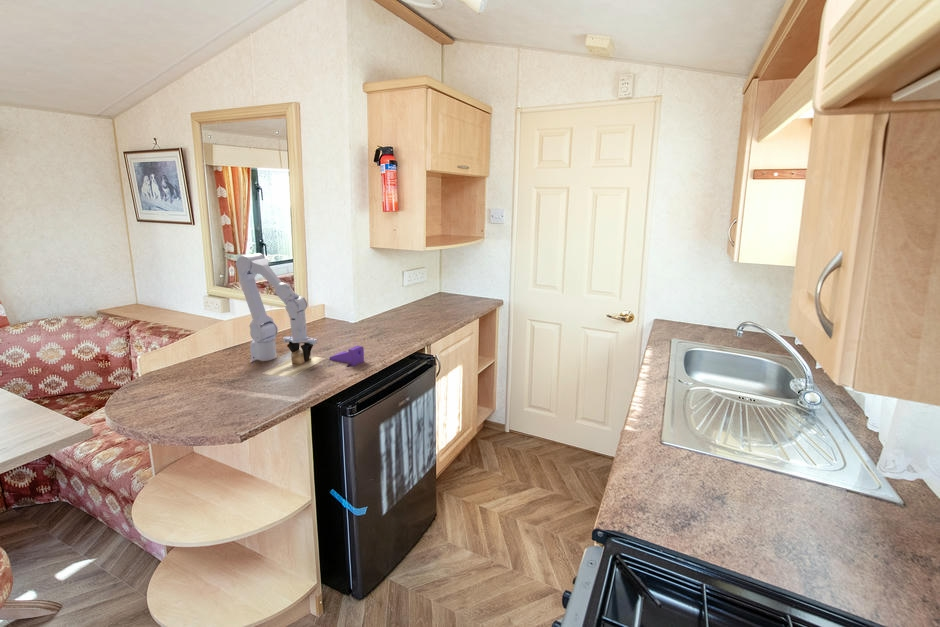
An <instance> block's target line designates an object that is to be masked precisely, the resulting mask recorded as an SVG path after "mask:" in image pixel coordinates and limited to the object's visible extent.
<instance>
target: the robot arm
mask: <svg viewBox="0 0 940 627" xmlns="http://www.w3.org/2000/svg"><path fill="white" fill-rule="evenodd" d="M234 264H235V267H236V270H237V277H238V280H239V282H240V286H241V289H242V292H243V295H244V297H245V298H244V299H245V300H246V304H247V307H248V309H249V312H250V315H251V318H252V320H251V322H250V323H249V326H248V327H249V329H250V334H249V335H250V337H251V339H252V341H251V342H250V344H249V350H250V357H251V360H249V361H250V363H252V362H255V361H261V362H263V361H264V362H265V361H267V362H268V361H273V360H275V359H277V348H276V337H277V334H278V333H279V332H278V331H279V329H278V326H277V324H276V322H274V320H273V318H272V316H269V315H267V313H266V308H265V306H264V303H263V300H262V297H261V294H260V291H259V288H258V285H257V283H256V280H255V279H256V276H257V275H261V276H262V277H263V278H264V279H265V281H267V283H269V284H270V285H271V286H272V287H273V288H274V294H275V295H276V296H277V297H278V298H279V299H280V301H282V302H283V303H284V305H285V306H284V308H285V311H286V312H287V314H288V317H289V320H290V321H289V323H290V329H291V330H290V332H291V336H284V337H282V340H283V341H282V342H283V343H288V344H286V345H287V348H288V349H289V351H290V352H291V353H293V352H295V351H297V350H299V349H301V348H302V351H303V354H304V360H305V361H308V360H309V357H310V352H311V351H312V348H313V346H317V344H318V339H317V338H312V337H311V336H310V337H309V336H308V333H307V332H308V330H307V329H308V328H307V320H306V311H305V310H306V309H307V308H308V302H307V300H306V298H305V297H303V296H300V295H299V294H298V293H296V292H295V291H294V290H293V288H291V285H290V284H289V283H286V282H282V281H281V279H280V278H279V277H278V276H277V274H276V273H275V272H274V270H273V269H272V268H271V266H270V265H269V260H268V259H267V258H266V257H265V255H263V254H262V253H261V252H257V253H256V252H255V253H252V254H247V255H240V256H238V258H237V259H236V261H235V263H234ZM301 344H302V345H301ZM311 353H312V352H311Z"/></svg>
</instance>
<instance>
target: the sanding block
mask: <svg viewBox="0 0 940 627" xmlns="http://www.w3.org/2000/svg"><path fill="white" fill-rule="evenodd" d="M311 353H312V352H310V357H309V360H311V357H312V354H311ZM290 359H292V364H294V365H302V364H304V363H306V362H307V361H305V360H304V354H303V351H302V348H301V347H300V348H299V350H297V351H295V352H293V353H292V352H291V353H290ZM309 360H308V361H309Z"/></svg>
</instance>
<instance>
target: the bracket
mask: <svg viewBox="0 0 940 627" xmlns="http://www.w3.org/2000/svg"><path fill="white" fill-rule="evenodd" d="M364 351H365V350H364V347H363V346H362V345H355V346H353V347H351V348H349V349H348V351H346V350H344V351H340V352H338V353H336V354H334V355H332V356H329V360H330V361H336V362H341V363H347V364H348V366H350V367H355V366H357V365H359V364H361V363H364V362H365V354H364V353H365V352H364Z"/></svg>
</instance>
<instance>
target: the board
mask: <svg viewBox="0 0 940 627" xmlns="http://www.w3.org/2000/svg"><path fill="white" fill-rule="evenodd" d="M325 359H326V357H320V356H319V357H318V356H311V360H309V361H307V362H306V363H304V364H302V365H294V364H292V359H291V358H289V359H287V360H285V361H283V362H281V363H279V364H277V365H275V366H273V367H271V368H270V369H268V370H265V371H264V372H262V373H261V374H262V375H270V376H277V377H278V376H280V377H286V378H287V377H288V378H294V377H297V375H299V374H302V373H303V372H305V371H307V370H308V369H310V368H311V367H313V366H315V365H317V364H318V363H320V362H322V361H324V360H325Z"/></svg>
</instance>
